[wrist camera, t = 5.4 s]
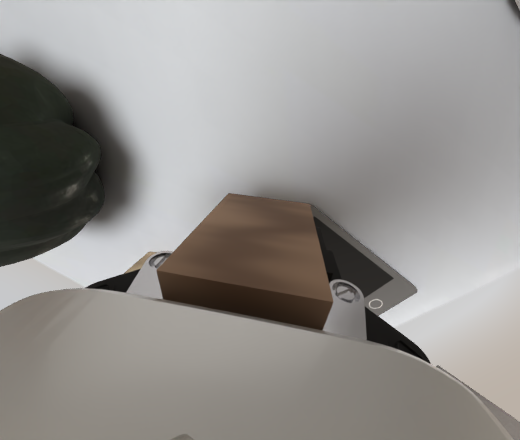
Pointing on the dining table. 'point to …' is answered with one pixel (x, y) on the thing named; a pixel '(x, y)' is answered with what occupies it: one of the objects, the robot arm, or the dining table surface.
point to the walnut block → (252, 263)
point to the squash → (42, 166)
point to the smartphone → (363, 267)
